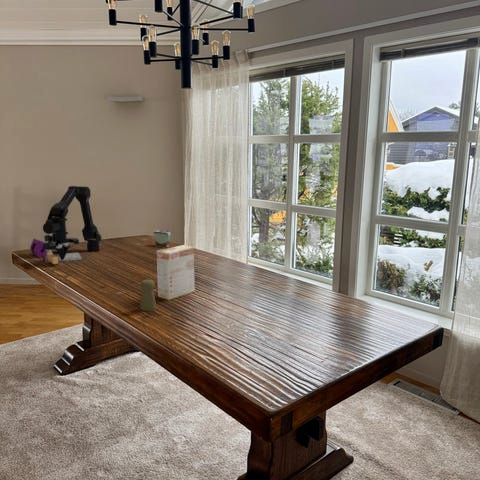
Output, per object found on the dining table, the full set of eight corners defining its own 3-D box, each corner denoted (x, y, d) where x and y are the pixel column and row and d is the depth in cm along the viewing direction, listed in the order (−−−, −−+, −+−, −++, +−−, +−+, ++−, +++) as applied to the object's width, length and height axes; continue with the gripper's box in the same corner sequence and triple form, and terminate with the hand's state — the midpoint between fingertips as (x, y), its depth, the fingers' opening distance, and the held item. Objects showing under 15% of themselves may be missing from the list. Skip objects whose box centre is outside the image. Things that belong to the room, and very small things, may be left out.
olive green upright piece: (157, 305, 169) (156, 278, 167) (155, 310, 163) (154, 282, 161) (141, 305, 169) (140, 278, 167) (138, 310, 163) (137, 282, 161)
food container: (175, 246, 276) (174, 231, 274) (168, 248, 271) (168, 232, 269) (160, 244, 282) (160, 229, 280) (153, 246, 277) (153, 230, 275)
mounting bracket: (58, 261, 260) (27, 252, 248) (63, 248, 261) (33, 238, 249) (63, 264, 253) (32, 255, 241) (69, 250, 254) (38, 241, 242)
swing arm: (58, 264, 225) (57, 254, 224) (52, 264, 224) (52, 255, 223) (51, 257, 239) (50, 248, 238) (46, 258, 237) (45, 249, 236)
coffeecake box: (183, 288, 191) (183, 244, 187) (195, 291, 187) (194, 246, 183) (157, 296, 180) (155, 250, 176) (168, 300, 175) (167, 252, 172)
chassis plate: (78, 254, 253) (78, 251, 253) (81, 259, 240) (81, 257, 240) (44, 257, 245) (44, 254, 245) (45, 262, 233) (45, 260, 232)
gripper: (64, 226, 239) (66, 254, 242) (34, 231, 223) (36, 261, 226) (78, 228, 234) (80, 256, 237) (48, 233, 218) (51, 264, 221)
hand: (62, 259), depth 230 cm, fingers closed
